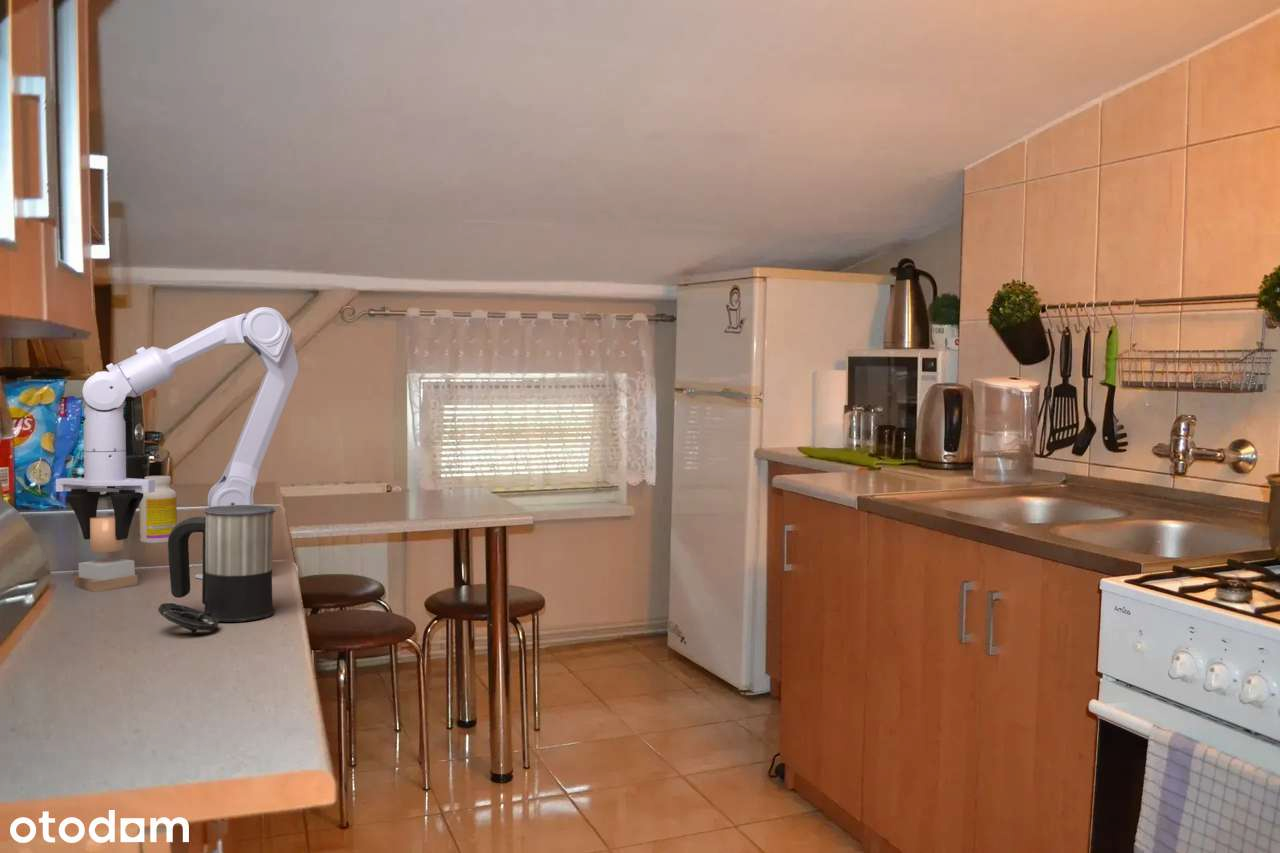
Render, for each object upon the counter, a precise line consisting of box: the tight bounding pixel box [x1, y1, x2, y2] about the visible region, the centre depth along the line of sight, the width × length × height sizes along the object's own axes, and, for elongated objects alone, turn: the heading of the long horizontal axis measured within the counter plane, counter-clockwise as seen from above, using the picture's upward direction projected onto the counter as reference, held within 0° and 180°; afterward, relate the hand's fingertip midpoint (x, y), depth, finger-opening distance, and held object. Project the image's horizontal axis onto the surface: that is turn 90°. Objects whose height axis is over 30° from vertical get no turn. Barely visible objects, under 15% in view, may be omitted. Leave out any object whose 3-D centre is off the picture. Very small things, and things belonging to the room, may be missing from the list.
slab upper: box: [78, 557, 136, 581], centre depth 158 cm, size 6×6×2 cm
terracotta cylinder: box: [89, 515, 124, 553], centre depth 158 cm, size 5×5×5 cm
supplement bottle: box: [138, 475, 178, 544], centre depth 201 cm, size 7×7×13 cm
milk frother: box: [157, 504, 276, 634], centre depth 136 cm, size 14×16×15 cm
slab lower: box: [73, 574, 139, 594], centre depth 159 cm, size 6×6×2 cm
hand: (106, 538), depth 158 cm, fingers closed on terracotta cylinder, 4 cm apart
